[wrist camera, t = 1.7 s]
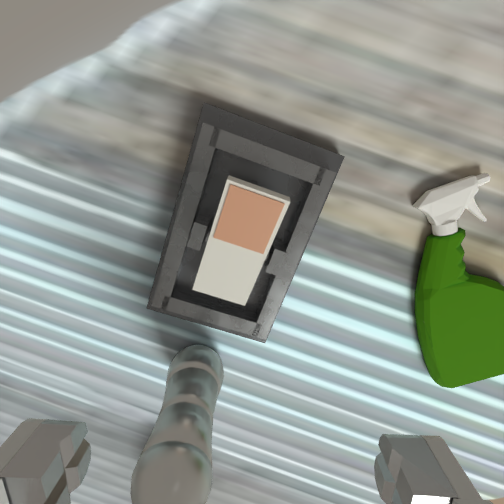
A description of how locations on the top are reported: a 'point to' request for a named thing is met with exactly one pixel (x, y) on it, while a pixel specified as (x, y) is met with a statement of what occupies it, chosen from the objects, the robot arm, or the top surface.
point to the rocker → (239, 240)
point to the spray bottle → (456, 294)
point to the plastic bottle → (181, 433)
